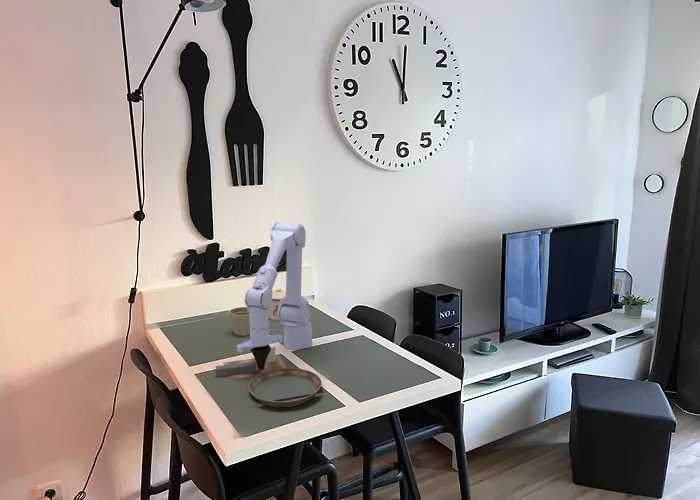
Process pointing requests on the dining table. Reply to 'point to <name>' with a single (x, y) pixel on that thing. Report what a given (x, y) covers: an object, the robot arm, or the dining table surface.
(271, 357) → the pale grey block
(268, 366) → the board
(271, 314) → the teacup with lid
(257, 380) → the plant saucer
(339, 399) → the dining table surface
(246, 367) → the bar
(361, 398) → the dining table surface
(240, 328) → the flower pot
